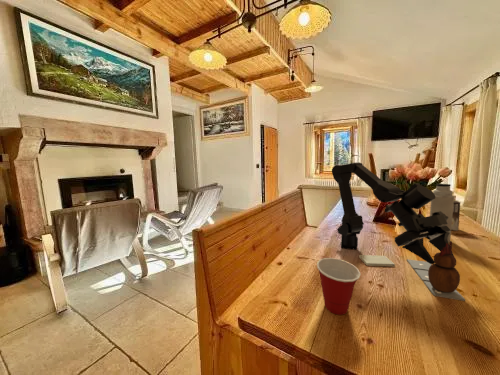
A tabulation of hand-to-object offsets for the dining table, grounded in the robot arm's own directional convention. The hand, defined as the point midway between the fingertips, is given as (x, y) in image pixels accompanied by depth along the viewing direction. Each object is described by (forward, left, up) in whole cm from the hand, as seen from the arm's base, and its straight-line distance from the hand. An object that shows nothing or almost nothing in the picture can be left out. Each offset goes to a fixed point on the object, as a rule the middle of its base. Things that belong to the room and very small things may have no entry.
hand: (443, 261), depth 60 cm
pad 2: (0, +8, -9) cm, 12 cm away
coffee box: (+30, +72, -10) cm, 79 cm away
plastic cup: (-30, -19, -10) cm, 36 cm away
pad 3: (0, 0, -9) cm, 9 cm away
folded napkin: (-15, +14, -9) cm, 22 cm away
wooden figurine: (0, 0, -9) cm, 9 cm away
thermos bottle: (+18, +49, -10) cm, 53 cm away
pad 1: (0, +16, -9) cm, 18 cm away
